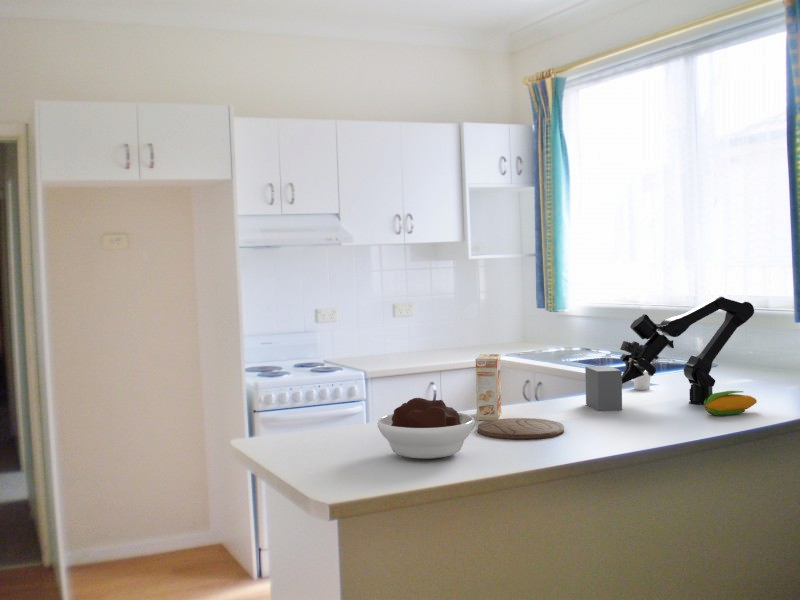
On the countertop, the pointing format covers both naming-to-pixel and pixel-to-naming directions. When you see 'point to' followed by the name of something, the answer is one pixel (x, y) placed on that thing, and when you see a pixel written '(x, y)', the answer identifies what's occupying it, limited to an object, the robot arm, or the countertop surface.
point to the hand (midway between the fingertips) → (620, 382)
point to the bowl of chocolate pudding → (426, 429)
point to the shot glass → (642, 382)
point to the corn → (728, 403)
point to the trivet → (520, 429)
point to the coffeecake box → (488, 386)
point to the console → (604, 388)
